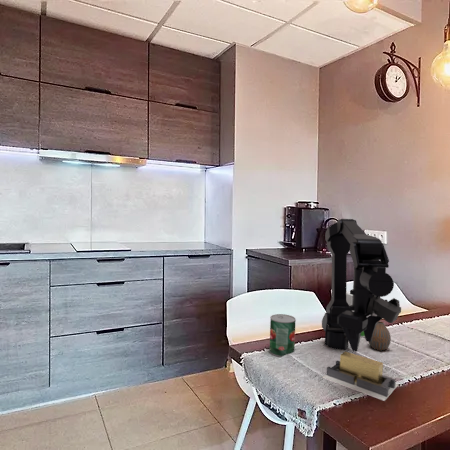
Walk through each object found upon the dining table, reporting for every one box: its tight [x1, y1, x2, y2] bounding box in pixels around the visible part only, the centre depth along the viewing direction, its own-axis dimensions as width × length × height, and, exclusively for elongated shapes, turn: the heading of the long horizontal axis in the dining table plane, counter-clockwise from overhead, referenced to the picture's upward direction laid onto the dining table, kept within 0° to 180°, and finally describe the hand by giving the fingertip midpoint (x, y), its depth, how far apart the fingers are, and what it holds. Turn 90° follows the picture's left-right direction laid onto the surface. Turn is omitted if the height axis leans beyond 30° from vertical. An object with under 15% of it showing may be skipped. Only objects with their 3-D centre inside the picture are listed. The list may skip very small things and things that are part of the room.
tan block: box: [339, 350, 384, 385], centre depth 94 cm, size 10×3×6 cm, turn 48°
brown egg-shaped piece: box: [368, 320, 392, 351], centre depth 119 cm, size 7×7×9 cm
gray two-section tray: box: [325, 360, 397, 397], centre depth 94 cm, size 16×6×2 cm, turn 48°
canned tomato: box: [268, 313, 297, 358], centre depth 113 cm, size 8×8×11 cm
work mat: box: [321, 374, 400, 402], centre depth 94 cm, size 16×11×1 cm
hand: (361, 346), depth 93 cm, fingers open, 9 cm apart
